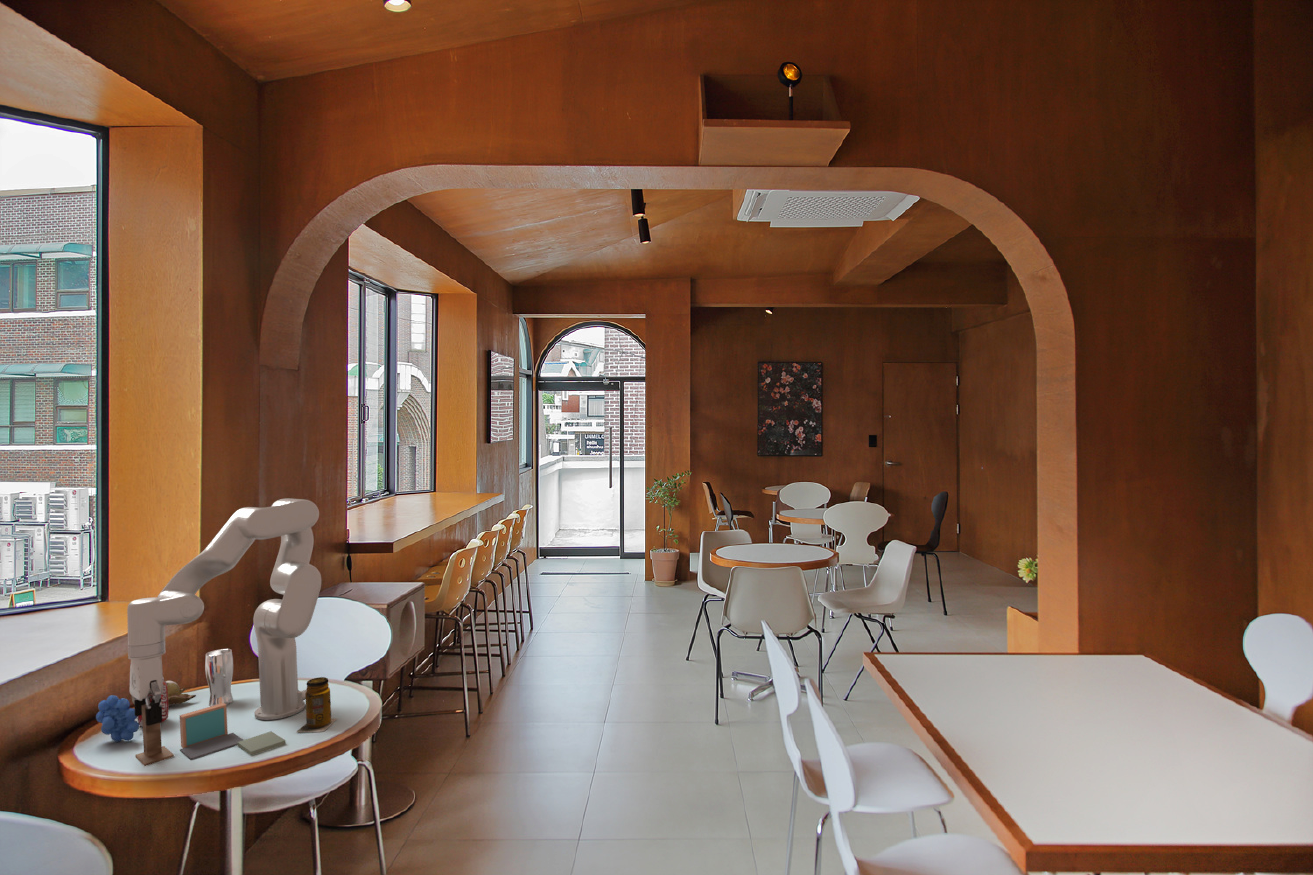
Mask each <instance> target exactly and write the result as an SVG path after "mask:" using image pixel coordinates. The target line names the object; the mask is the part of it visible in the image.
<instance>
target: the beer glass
mask: <svg viewBox="0 0 1313 875" xmlns="http://www.w3.org/2000/svg"><path fill="white" fill-rule="evenodd" d="M204 664H205V665H204V668H205V669H204V670H205V677H206V681H207V685H208V688H209V701H208V707H211V706H214V705H218V704H222V703H224V704H226V706H227V705H230V704H232V702H233V701H234V697H233V693H232V682H233V681H232V680H233V676H234V675H233V674H234V657H233V652H232V649H230V648H221V649H216V650H212V651H208V652H206V653H205V663H204Z"/></svg>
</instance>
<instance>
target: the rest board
mask: <svg viewBox="0 0 1313 875" xmlns="http://www.w3.org/2000/svg"><path fill="white" fill-rule="evenodd" d="M286 743H287V742H286V739H284V738H283V737H281V736H279V735H278V734H277V733H274V732H273V731H272V730H271V731H268V732H264V733H262V734H258V735H255V736H252V737H249V738H246V739H243V741H239V742H237V745H236V746H237V747H238V748H239V749H241V750H242V751H244V752H245V753H246V754H248V755H249V756H250V757H252V756H255V755H257V754H261V753H264V752H266V751H269V750H272V749H275V748H279V747H281V746H284V745H286Z"/></svg>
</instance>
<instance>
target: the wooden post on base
mask: <svg viewBox="0 0 1313 875" xmlns="http://www.w3.org/2000/svg"><path fill="white" fill-rule="evenodd" d="M146 709H147V705H146V704H144V705H142V725H143V726H142V741H143V752H139V753H137V754H135V758H136V759H137V760H138V761H139V762H140V763H141V764H142V765H143V766H144V767H147V766H150V765H153V764H156V763H160V762H164V761H165V760H169V759H172V758H175V754H174V753H173V752H172V751H170V750H169V748H167V747H166V746H164V745H162V729H161V725H162V724H160V723H157V724H153V725H149V726H147V725H146Z"/></svg>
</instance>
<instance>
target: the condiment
mask: <svg viewBox="0 0 1313 875" xmlns="http://www.w3.org/2000/svg"><path fill="white" fill-rule="evenodd" d="M305 690H307V691H306V693H305V698H306V699H305V721H306V723H305V724H303V725H302V726H301V727H300V728H298V729H297V730H296V731H295V733H320V732H325V731H326V730H327V729H328V728H329V727H330V726H331V725H333V724H334V723H335V721H337V719H338V718H337V717H335V718H332V703H331V702H332V701H331V689H330V687H329V679H328V678H327V677H325V676H323V677H322V676H321V677H314V678H311V679H309V680H307V681H306V689H305Z"/></svg>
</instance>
